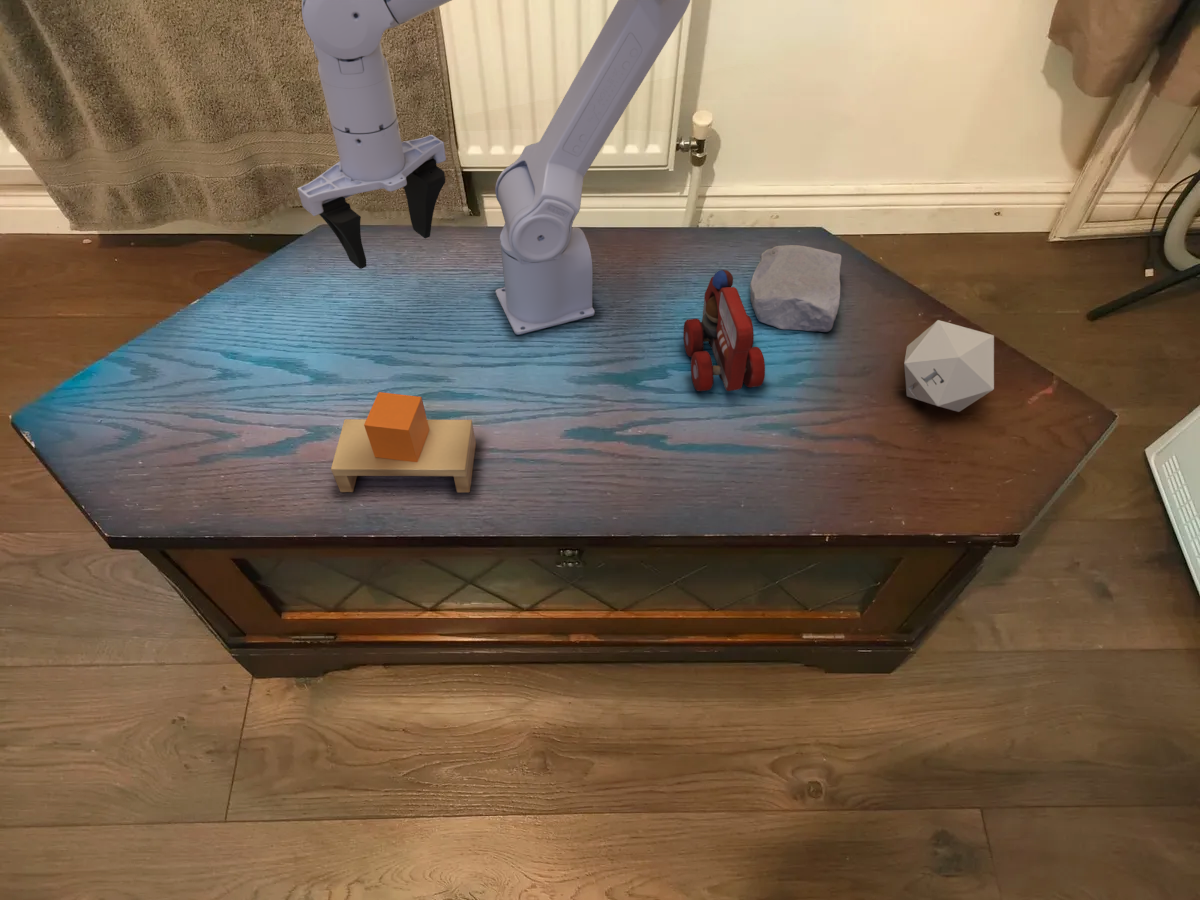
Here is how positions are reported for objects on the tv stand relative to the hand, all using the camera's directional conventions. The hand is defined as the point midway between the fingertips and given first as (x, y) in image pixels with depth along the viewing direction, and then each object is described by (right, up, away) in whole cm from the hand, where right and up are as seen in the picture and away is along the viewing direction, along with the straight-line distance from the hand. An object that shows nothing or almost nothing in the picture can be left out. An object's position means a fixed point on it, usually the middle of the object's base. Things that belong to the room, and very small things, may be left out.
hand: (390, 247), depth 78 cm
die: (+56, -15, +2) cm, 58 cm away
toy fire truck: (+34, -11, +5) cm, 36 cm away
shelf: (+3, -22, -5) cm, 23 cm away
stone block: (+43, -3, +12) cm, 45 cm away
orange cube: (+3, -20, -7) cm, 21 cm away
